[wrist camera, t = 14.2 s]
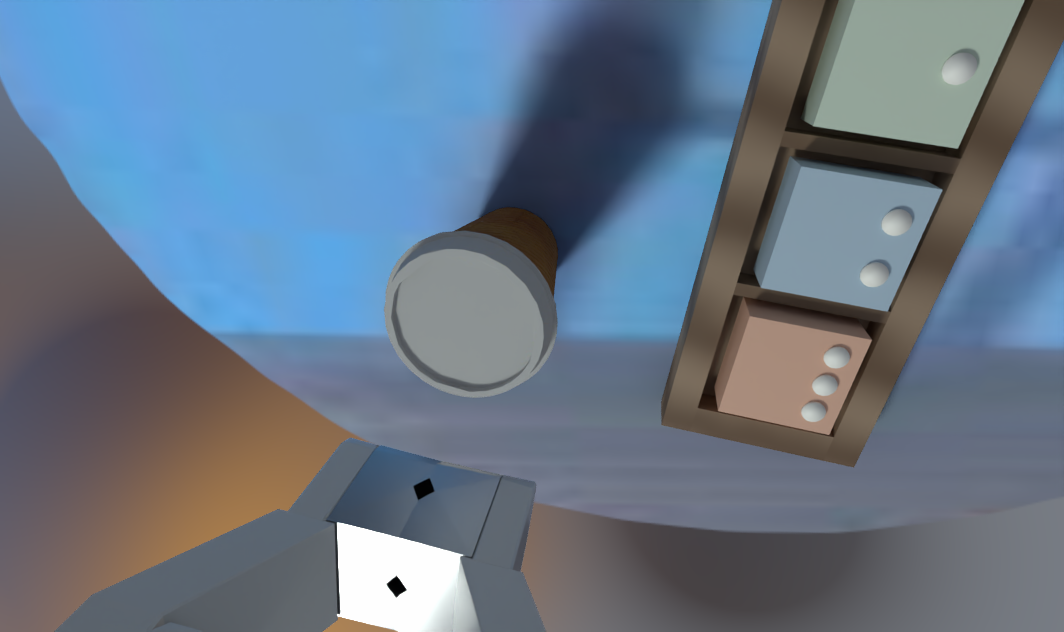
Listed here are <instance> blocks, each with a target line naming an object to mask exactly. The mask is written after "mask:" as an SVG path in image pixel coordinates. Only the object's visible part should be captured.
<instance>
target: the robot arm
mask: <svg viewBox="0 0 1064 632" xmlns="http://www.w3.org/2000/svg"><path fill="white" fill-rule="evenodd" d="M535 492H536V483H535V482H533V481H528V480H524V479H519V478H515V477H510V476H506V475H500V474H495V473H491V472H487V471H482V470H478V469H474V468H469V467H465V466H461V465H456V464H452V463H448V462H443V461H438V460H435V459H431V458H427V457H423V456H420V455H416V454H412V453H408V452H405V451H401V450H397V449H393V448H389V447H386V446H382V445H381V446H379V445H375V444H371V443H368V442H364V441H360V440H357V439H353V438H349V439H347V440H346V441H344V442H342V443H341V444H340V446H339V447H338V448H337V449H336V451H335V452H334V453H333V455H332V456H331V457H330V458H329V460H328V461H327V462H326V463H325V465H324V466H323V467H322V468H321V470H320V471H319V472H318V474H317V475H316V476H315V477H314V479H313V480H312V481H311V483H310V484H309V485H308V486H307V488H306V489H305V490H304V491H303V493H302V494H301V495H300V496H299V498H298V499H297V500H296V502H295V503H294V504H293V505H292V507H291V508H290V509H289V510H288V511H284V510H280V509H277V510H275V511H273V512H271V513H269V514H266V515H264V516H262V517H260V518H258V519H256V520H253V521H251V522H249V523H247V524H245V525H243V526H240V527H238V528H236V529H234V530H232V531H230V532H227V533H225V534H223V535H221V536H219V537H216V538H214V539H212V540H210V541H208V542H206V543H203V544H201V545H199V546H197V547H195V548H193V549H191V550H188V551H186V552H184V553H182V554H180V555H177V556H175V557H173V558H171V559H169V560H167V561H164V562H162V563H160V564H158V565H156V566H154V567H151V568H149V569H147V570H145V571H143V572H141V573H138V574H136V575H134V576H132V577H130V578H127V579H125V580H123V581H121V582H119V583H117V584H115V585H112V586H110V587H108V588H106V589H104V590H102V591H99V592H97V593H95V594H93V595H91V596H90V597H89V598H88V599H87V600H86V601H85V602H84V603H83V604H82V605H81V606H80V607H79V608H78V609H77V610H76V611H75V612H74V613H73V614H72V615H71V616H70V617H69V618H68V619H67V620H66V621H65V622H64V623H63V624H62V625H60V626H59V627H58V628H57V629H56V631H54V632H322V631H324V630H325V629H326V628H328V627H329V626H330V625H331V624H333V623H334V622H336V621H337V619H338V616H340V617H344V618H349V619H353V620H356V621H361V622H365V623H369V624H373V625H377V626H381V627H385V628H389V629H393V630H397V631H400V632H546V630H545V627H544V625H543V622H542V620H541V617H540V615H539V612H538V610H537V607H536V605H535V602H534V600H533V597H532V595H531V592H530V590H529V587H528V585H527V582H526V580H525V577H524V574H523V572H520V571H521V566H522V561H523V557H524V551H525V547H526V542H527V537H528V531H529V525H530V520H531V514H532V509H533V503H534V497H535Z"/></svg>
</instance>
